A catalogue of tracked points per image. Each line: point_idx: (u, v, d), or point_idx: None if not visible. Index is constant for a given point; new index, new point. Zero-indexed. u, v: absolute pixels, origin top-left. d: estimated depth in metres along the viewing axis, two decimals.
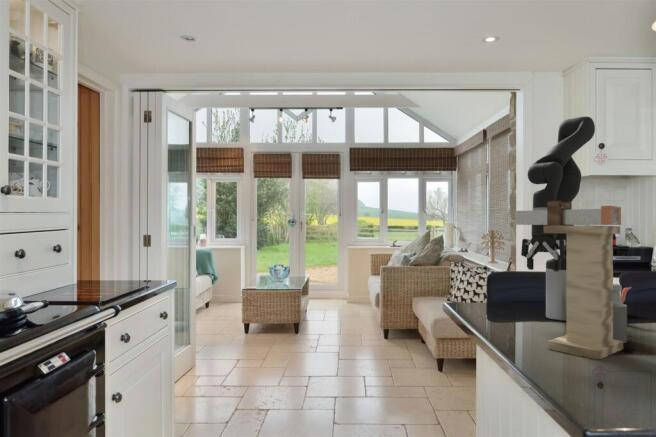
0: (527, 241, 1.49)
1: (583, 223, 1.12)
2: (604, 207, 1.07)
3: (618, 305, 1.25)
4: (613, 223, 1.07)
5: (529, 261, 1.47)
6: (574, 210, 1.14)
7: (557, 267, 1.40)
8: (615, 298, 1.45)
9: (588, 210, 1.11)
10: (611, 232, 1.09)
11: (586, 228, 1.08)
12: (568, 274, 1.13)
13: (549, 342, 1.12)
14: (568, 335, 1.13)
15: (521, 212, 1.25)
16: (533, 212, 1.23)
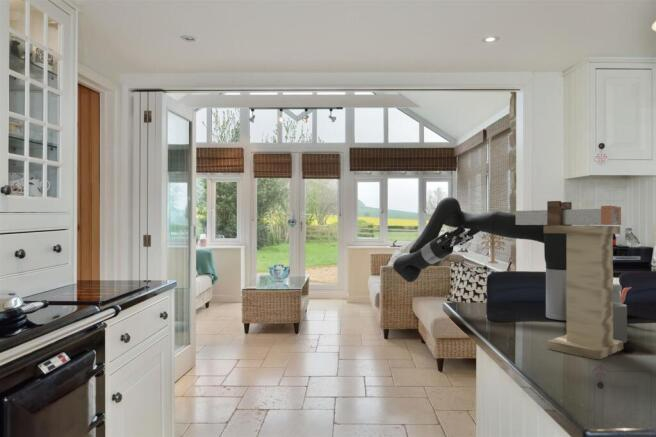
0: None
1: (583, 223, 1.12)
2: (604, 207, 1.07)
3: (618, 305, 1.25)
4: (613, 223, 1.07)
5: None
6: (574, 210, 1.14)
7: (460, 232, 1.45)
8: (615, 298, 1.45)
9: (588, 210, 1.11)
10: (611, 232, 1.09)
11: (586, 228, 1.08)
12: (568, 274, 1.13)
13: (549, 342, 1.12)
14: (568, 335, 1.13)
15: (521, 212, 1.25)
16: (533, 212, 1.23)
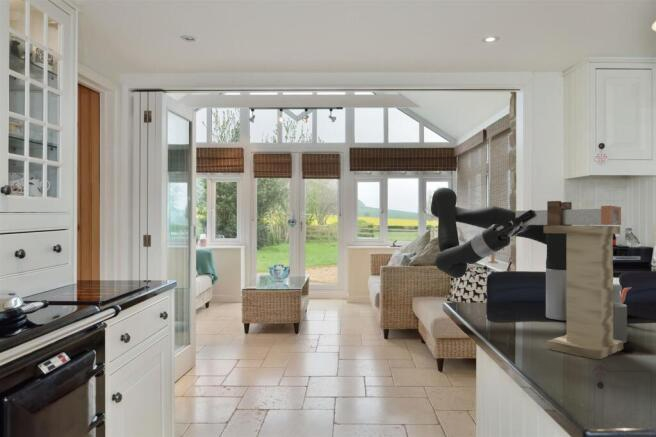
0: None
1: (583, 223, 1.12)
2: (604, 207, 1.07)
3: (618, 305, 1.25)
4: (613, 223, 1.07)
5: None
6: (574, 210, 1.14)
7: (529, 217, 1.23)
8: (615, 298, 1.45)
9: (588, 210, 1.11)
10: (611, 232, 1.09)
11: (586, 228, 1.08)
12: (568, 274, 1.13)
13: (549, 342, 1.12)
14: (568, 335, 1.13)
15: (521, 212, 1.25)
16: None
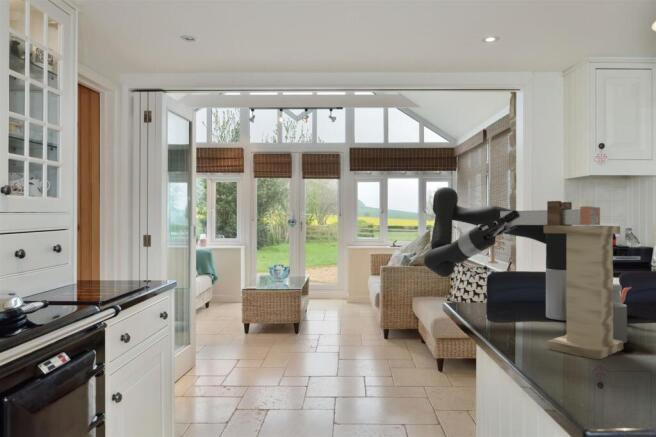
0: None
1: (564, 223, 1.16)
2: (583, 208, 1.11)
3: (618, 305, 1.25)
4: (591, 223, 1.11)
5: None
6: None
7: (513, 217, 1.26)
8: (615, 298, 1.45)
9: (568, 210, 1.15)
10: (611, 232, 1.09)
11: (586, 228, 1.08)
12: (568, 274, 1.13)
13: (549, 342, 1.12)
14: (568, 335, 1.13)
15: (505, 212, 1.29)
16: None
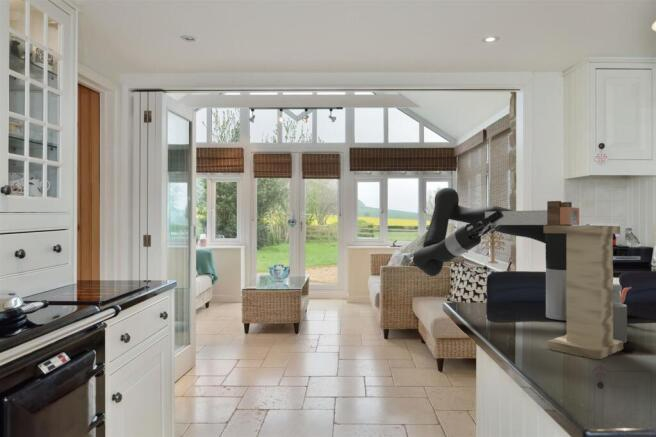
0: None
1: (544, 223, 1.20)
2: (562, 208, 1.15)
3: (618, 305, 1.25)
4: (570, 223, 1.15)
5: None
6: (536, 211, 1.22)
7: (496, 217, 1.30)
8: (615, 298, 1.45)
9: None
10: (611, 232, 1.09)
11: (586, 228, 1.08)
12: (568, 274, 1.13)
13: (549, 342, 1.12)
14: (568, 335, 1.13)
15: (490, 213, 1.33)
16: None
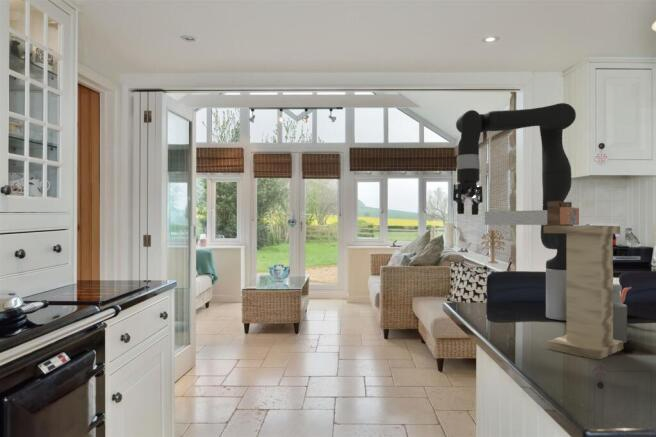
0: None
1: (544, 223, 1.20)
2: (562, 208, 1.15)
3: (618, 305, 1.25)
4: (570, 223, 1.15)
5: None
6: (536, 211, 1.22)
7: None
8: (615, 298, 1.45)
9: None
10: (611, 232, 1.09)
11: (586, 228, 1.08)
12: (568, 274, 1.13)
13: (549, 342, 1.12)
14: (568, 335, 1.13)
15: (490, 213, 1.33)
16: (500, 213, 1.30)
